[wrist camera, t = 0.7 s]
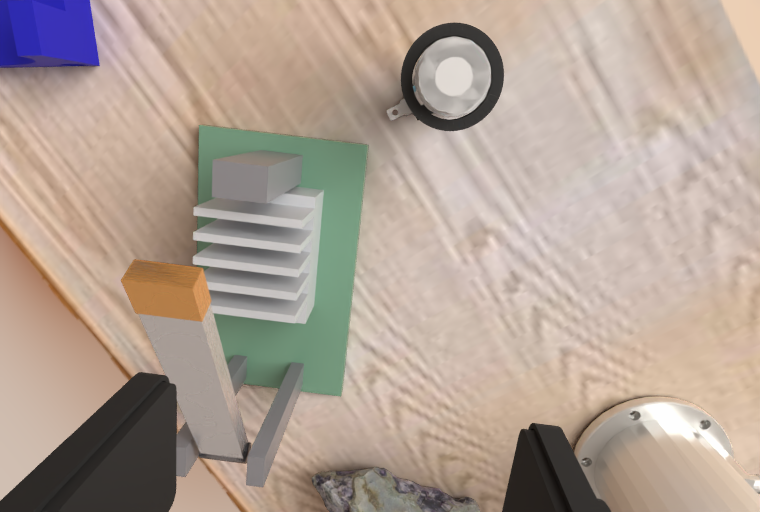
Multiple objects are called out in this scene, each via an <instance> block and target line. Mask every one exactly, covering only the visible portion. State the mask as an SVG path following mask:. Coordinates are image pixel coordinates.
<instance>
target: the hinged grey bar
mask: <svg viewBox="0 0 760 512" xmlns="http://www.w3.org/2000/svg"><path fill="white" fill-rule="evenodd" d="M121 282H122V284H123V286H124V288H125V291H126V293H127V295H128V297H129V299H130V302H131V304H132V306H133V308H134V311H135V313H137V314H138V315H139V317H140V319H141V321H142V324H143V326H144V328H145V330H146V333H147V335H148V337H149V339H150V342H151V344H152V346H153V348H154V350H155V353H156V355H157V357H158V359H159V362H160V364H161V366H162V368H163V371H164V373H165V375H166V376H167V377H168V378H169V381H170V383H173V384H175V385H176V388H177V402H178V404H179V406H180V409H181V411H182V413H183V415H184V418H185V420H186V422H187V424H188V427H189V429H190V431H191V433H192V436H193V438H194V440H195V442H196V445H197V447H198V449H199V457H200V458H206V459H214V460H221V461H229V462H237V463H244V464H246V463H247V459H248V454H249V452H250V450H251V443H249V442H248V440H247V437H246V433H245V429H244V426H243V422H242V418H241V414H240V411H239V407H238V403H237V400H236V396H235V392H234V389H233V385H232V381H231V377H230V374H229V370H228V366H227V363H226V359H225V355H224V352H223V348H222V344H221V340H220V337H219V333H218V329H217V326H216V322H215V318H214V314H213V311H212V307H211V301H212V300H211V297H210V293H209V289H208V285H207V282H206V278H205V274H204V270H203V268H200V267H192V266H184V265H176V264H168V263H160V262H152V261H144V260H136V259H134V260H133V262H132V263H131V265H130V267H129V268H128V270H127V271H126V273H125V275H124V276H123V278H122V279H121Z"/></svg>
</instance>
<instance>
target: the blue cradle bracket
mask: <svg viewBox="0 0 760 512" xmlns="http://www.w3.org/2000/svg"><path fill="white" fill-rule="evenodd" d="M61 66H100V65H99V59H98V52H97V45H96V39H95V32H94V26H93V19H92V13H91V6H90V0H0V68H14V67H61Z"/></svg>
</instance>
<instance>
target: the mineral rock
mask: <svg viewBox="0 0 760 512" xmlns="http://www.w3.org/2000/svg"><path fill="white" fill-rule="evenodd" d="M312 482H313V485H314V486H315V488H316V489H317V491H318V492H319V494H320V495H321V497H322V499H323V501H324V503H325V506H326V508H327V509H328V510H329V512H480V509H479V506H478V504H477V502H476V501H475V500H474V499H472V498H469V497H465V498H460V499H454V498H452V497H451V496H449V495H448V494H446V493H443V492H442V491H441V489H439V488H430V487H421V486H420V485H419V484H416V483H414V482H413V481H412V482H411V481H409V480H403V479H401V478H398V477H396V476H394V475H393V474H392V473H391V472H389V471H388V470H386V469H385V468H378V467H375V468H369V469H363V470H354V471H338V472H337V471H333V472H332V471H328V472H320V473H318V474H315V475H314V476H313V477H312Z"/></svg>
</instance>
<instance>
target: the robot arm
mask: <svg viewBox="0 0 760 512" xmlns="http://www.w3.org/2000/svg"><path fill="white" fill-rule="evenodd" d="M176 440H177V388H176V385H175V384H173V383H170V381H169V378H168V377H167V376H166V375H158V374H150V373H143V372H140V373H137V374H136V375H135V376H134V377H132V378H131V379H130V380H129V381H128V382H127V383H126V384H125V385H124V386H123V387H122V388H121V389H120V390H119V391H118V392H116V393H115V394H114V395H113V396H112V397H111V398H110V399H109V400H108V401H107V402H106V403H105V404H104V405H103V406H102V407H101V408H99V409H98V410H97V411H96V412H95V413H94V414H93V415H92V416H91V417H90V418H89V419H88V420H87V421H86V422H85V423H83V424H82V425H81V426H80V427H79V428H78V429H77V430H76V431H75V432H74V433H73V434H72V435H71V436H69V437H68V438H67V439H66V440H65V441H64V442H63V443H62V444H61V445H60V446H59V447H57V448H56V449H55V450H54V451H53V452H52V453H51V454H50V455H49V456H48V457H47V458H46V459H45V460H44V461H43V462H42V463H40V464H39V465H38V466H37V467H36V468H35V469H34V470H33V471H32V472H31V473H30V474H29V475H28V476H26V477H25V478H24V479H23V480H22V481H21V482H20V483H19V484H18V485H17V486H16V487H15V488H14V489H13V490H12V491H10V492H9V493H8V494H7V495H6V496H5V497H4V498H3V499H2V500H1V501H0V512H169V510H170V508H171V506H172V504H173V501H174V498H175V494H176ZM758 494H760V475H750V474H748V473H747V472H746V471H745V470H744V469H743V468H742V467H741V466H740V465H739V464H738V463H737V462H736V461H735V460H734V451H733V448H732V444H731V441H730V439H729V437H728V435H727V434H726V432H725V430H724V429H723V428H722V427H721V425H720V424H719V423H718V422H717V421H716V420H715V419H714V418H713V417H712V416H710V415H709V414H708V413H707V412H706V411H705V410H703V409H702V408H700V407H698V406H696V405H694V404H692V403H690V402H687V401H684V400H681V399H678V398H671V397H663V396H656V397H643V398H638V399H633V400H630V401H627V402H624V403H622V404H619V405H616V406H615V407H613V408H611V409H609V410H608V411H606V412H604V413H603V414H601V415H600V416H599V417H598V418H597V419H595V420H594V421H593V422H592V423H591V424H590V425H589V426H588V427H587V429H586V430H585V431H584V432H583V434H582V435H581V437H580V439H579V441H578V442H577V444H576V447H575V450H574V452H573V450H572V448H571V446H570V444H569V442H568V440H567V438H566V436H565V434H564V432H563V430H562V429H561V428H560V427H558V426H552V425H544V424H536V423H532V424H531V425H530V427H529V429H528V430H527V429H522V430H521V431H520V434H519V437H518V442H517V447H516V451H515V456H514V460H513V465H512V469H511V474H510V479H509V483H508V488H507V492H506V497H505V501H504V506H503V511H502V512H760V496H759V495H758Z"/></svg>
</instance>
